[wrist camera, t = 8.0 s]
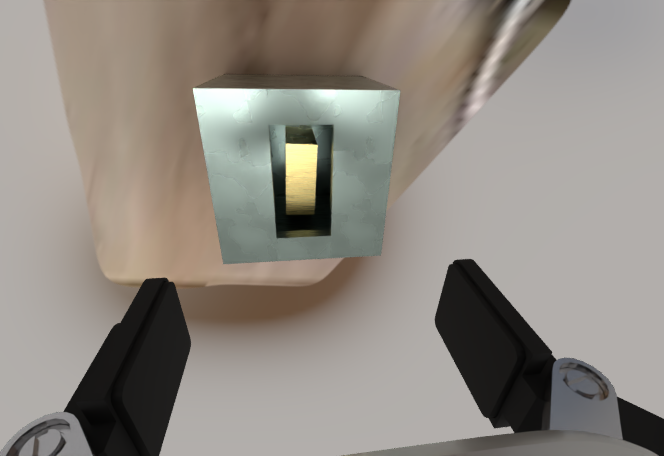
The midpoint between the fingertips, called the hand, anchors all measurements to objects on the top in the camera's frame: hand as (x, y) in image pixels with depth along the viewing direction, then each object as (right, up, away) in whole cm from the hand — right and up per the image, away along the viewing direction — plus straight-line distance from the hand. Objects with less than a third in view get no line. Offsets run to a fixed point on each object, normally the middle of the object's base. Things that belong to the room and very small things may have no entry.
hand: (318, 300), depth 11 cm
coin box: (-3, +11, +20) cm, 23 cm away
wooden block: (-3, +5, +19) cm, 20 cm away
